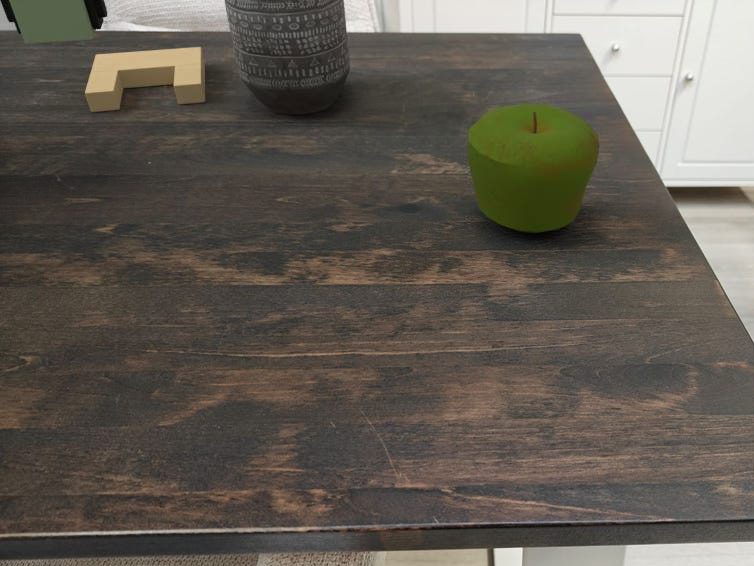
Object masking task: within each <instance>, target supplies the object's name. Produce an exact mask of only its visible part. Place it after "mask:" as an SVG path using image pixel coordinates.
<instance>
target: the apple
mask: <svg viewBox="0 0 754 566" xmlns="http://www.w3.org/2000/svg"><path fill="white" fill-rule="evenodd" d="M467 140H468V141H467V162H468V167H469V171H470V175H471V179H472V183H473V188H474V192H475V193H474V194H475V197H476V202H477V206H478V209H479V210H480V211H481V212H482V214H484V216H485V217H487V218H488V219H490V220H491V221H493V222H495V223H496V224H498V225H500V226H502V227H505V228H508V229H511V230H514V231H517V232H522V233H530V234H538V233H544V232H548V231H549V232H550V231H554V230H559V229H561V228H564V227H565V226H568V225H570V224H571V223H573V222H574V220H575V219H576V217H577V216H578V214H579V212H580V209H581V206H582V203H583V200H584V196H585V194H586V189H587V186H588V184H589V182H590V181H591V180H590V179H591V178H592V175H593V173H594V172H595V171H594V170H595V168H596V166H597V164H598V159H599V152H600V146H601V145H600V138H599V133H598V132H597V131H596V130H595V129H594V128H593V127H592V126H591V125H590V124H589V123H587V122H586V121H585V120H583V118H581V117H580V116H578V115H576V114H574V113H572V112H570V111H568V110H566V109H564V108H562V107H557V106H554V105H551V104H547V103H521V104H512V105H511V104H510V105H504V106H501V107H497V108H493V109H490V110H488V111H487V112H486V113H485V114H483V115H482V116H481V117H480V118H479V119H478V120H477V121H476V122H475V123H474V124H473V125H472V126H470V128H468V138H467Z"/></svg>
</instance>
